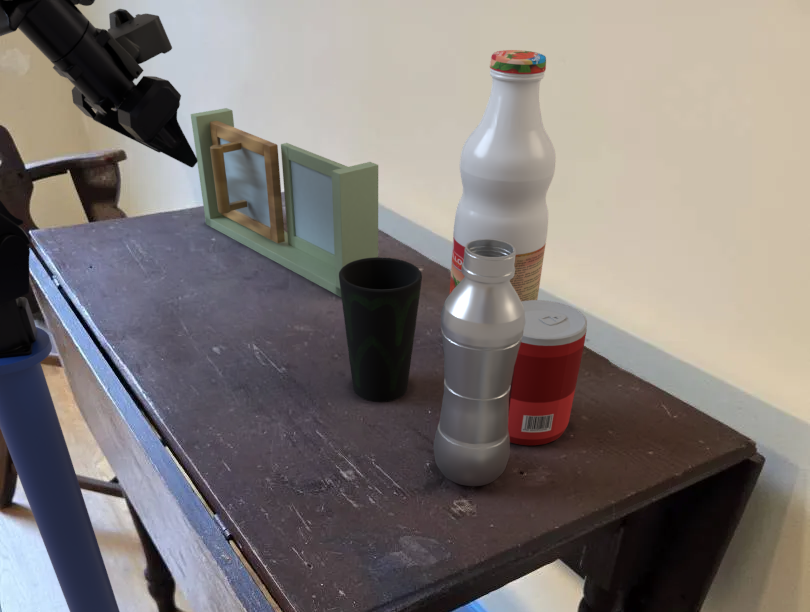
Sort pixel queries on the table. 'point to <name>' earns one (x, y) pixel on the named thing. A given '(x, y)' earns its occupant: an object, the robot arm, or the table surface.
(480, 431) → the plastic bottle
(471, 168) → the fruit juice
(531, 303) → the canned food
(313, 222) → the window frame
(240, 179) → the sash
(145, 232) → the table surface
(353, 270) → the cup
